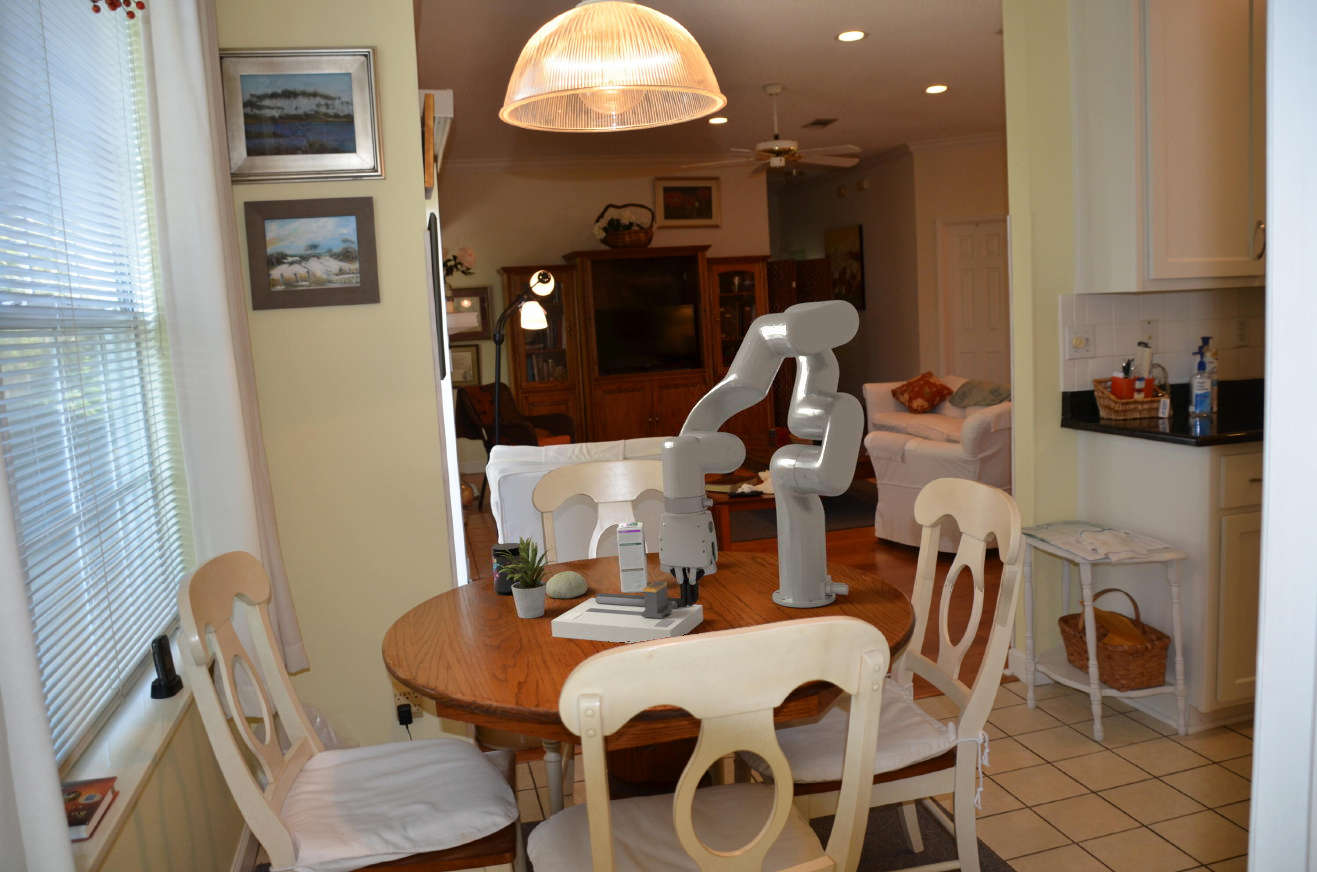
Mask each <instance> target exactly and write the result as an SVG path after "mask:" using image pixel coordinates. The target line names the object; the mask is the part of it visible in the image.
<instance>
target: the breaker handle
mask: <svg viewBox="0 0 1317 872" xmlns="http://www.w3.org/2000/svg"><path fill="white" fill-rule="evenodd" d="M643 596H644V599H645V610H644V611H643V612H641V615H642V617H652V618H662V617H664V616H665V615H667V614H668V613H669V612H671V611H672V606H668V598H667V597H668V582H667V581H655V580H654V581H652V583H650V584H648V586H647V587H645V588H644V592H643Z"/></svg>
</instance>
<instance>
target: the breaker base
mask: <svg viewBox="0 0 1317 872" xmlns="http://www.w3.org/2000/svg"><path fill="white" fill-rule="evenodd" d="M667 598H668V606H672V611H671V612H669V613H668V614H667V615H665V616H664V617H662V618H652V617H642V615H641V612H643V611H644V610H645V599H644V595H636V594H634V595H633V594H624V593H623V594H621V593H620V594H619V593H607V592H599V593H597V595H596V597H590V598H588V599H587V600H585V601H583V602H581V603H580V604H578V605H576V606H575V607H573V608H571V609H569V610H568V611H566V612H564V613H562V614H561V615H559V616H558V617H555V618H554V619H552V620H551V621H550V622H551V623H550V624H551V633H552V635H551V636H552V637H554V638H565V639H574V640H576V639H578V640H585V641H586V640H588V641H600V642H608V641H609V642H611V643H619V642H625V643H624V644H631V643H634V642H640V641H647V640H653V639H660V638H665V637H676V636H680V635H684V634H686V635H687V634H689V633H690V632H691V631H693V629H695V628H696V627H697V626H698V625H700V624H701V623H702V622H703V621H704V614H703V613H704V612H703V611H704V610H703V604H694V605H692V606H688V605H686V606H683V600H682V599H681V597H668V596H667ZM627 641H630V642H627Z"/></svg>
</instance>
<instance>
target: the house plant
mask: <svg viewBox="0 0 1317 872" xmlns="http://www.w3.org/2000/svg"><path fill="white" fill-rule="evenodd" d="M532 538H533V536H531V537H530V536H529V537H527V538H526V540H524V539H523V537H522V536H519V543H520V544H519V554H520V559H521V562H522V563H520V564H519V563H518V562H517V560H516V559H515V558H514V556H513V555H512V554H511V553H510V552H509V550H508V549H506V548H505V547H503V546H501V545H499V546H501V547H503V548H505V549H506V551H508V552H509V553H510V554H511V555H509V554H506V553H504V554H506V555H508V556H509V557H511V558H512V559H513V560H514V561H515V562H516V563H517V565H516V564H515V563H514V561H513V560H512V559H511V558H509V557H508V556H505V555H501V556H505V557H507V558H508V559H509V560H510V561H511V562H512V563H513V564H514V565H509V566H505V567H504V566H502V565H499V566H502V567H503V568H505V569H502V570H501V571H499V572H498V573H500V572H502V571H505V570H507V571H508V572H509V573H510V574H511V575H508V577H507V579H508V578H510V577H512V576H514V581H515V580H516V579H517V580H518V581H519V582H518V583H515V584H513V585H512V586H511V587H512V591H513V595H512V596H513V598H514V604H515V607H516V612H517V615H518V617H519V618H520V619H533V618H534V619H535V618H539V617H541V616H544V614H545V606H546V605H545V604H546V594H547V593H546V585H547V582H546V581H544V580H542V579H543V578H544V576H546V575H547V574H553V571H550V572H545V573H544V571H545V568H544V566H546V565H547V564H548V563H553V562H555V563H556V561H554V560H550V561H546V562H544V563H543V564H542V562H543V560H544V558H545V556H546V554H547V553H548V552H549V551H550V550H551V546H549V547H548V549H547V550H546V551H545V552H543V553H542V555H541V556H540V557H539V558H538V560H537V556H538V551H539V549H538V542H535V543H534V540H533V539H532ZM494 545H497V544H495V543H494V544H492V546H494ZM505 549H504V550H505ZM552 549H554V547H552ZM495 553H501V552H495ZM541 564H542V565H541ZM506 567H507V568H516V569H517V570H518V572H519V573H520V574H518V573H516V572H515V571H514V570H511V569H507V568H506ZM519 569H521V571H522V573H523V574H522V573H521V572H520V570H519ZM509 570H511V571H514V572H515V573H516V574H514V573H512V572H510V571H509Z"/></svg>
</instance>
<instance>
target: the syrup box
mask: <svg viewBox="0 0 1317 872" xmlns="http://www.w3.org/2000/svg"><path fill="white" fill-rule="evenodd" d="M645 534H646V533H645V524H644V522H643V521H628V522H621V523H618V525H617V528H616V535H617V536H616V538H617V549H618V551H617V552H618V564H619V577H620V590H621V593H623V594H624V593H626V594H630V593H632V594H633V593H635V594H637V593H644V588H645V587H647V586H648V585H649V578H648V577H649V576H648V561H647V550H646V549H647V547H646V535H645Z"/></svg>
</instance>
